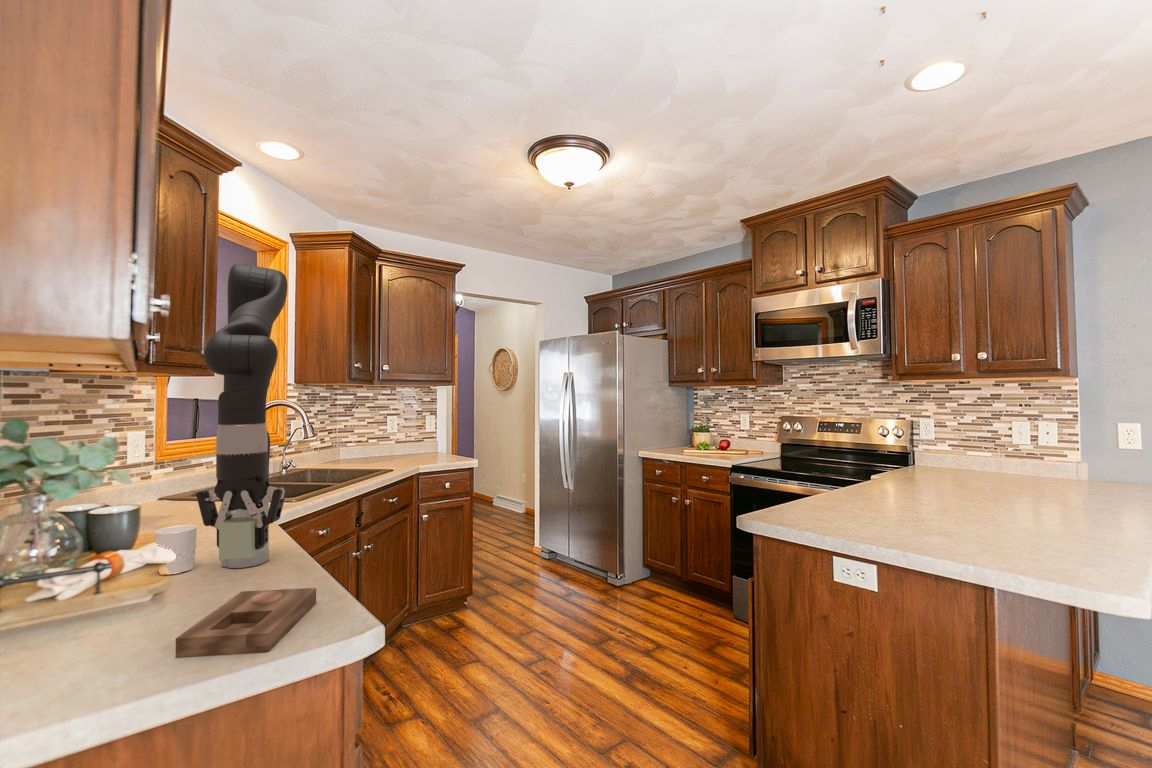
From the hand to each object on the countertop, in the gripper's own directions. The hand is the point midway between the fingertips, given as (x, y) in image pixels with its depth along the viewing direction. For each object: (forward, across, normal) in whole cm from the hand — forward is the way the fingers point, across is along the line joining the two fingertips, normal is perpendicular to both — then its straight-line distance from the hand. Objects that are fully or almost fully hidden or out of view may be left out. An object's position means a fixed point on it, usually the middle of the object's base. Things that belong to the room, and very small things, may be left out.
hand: (242, 548), depth 91 cm
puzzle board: (+15, 0, -4) cm, 16 cm away
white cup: (+15, +34, -39) cm, 54 cm away
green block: (+1, 0, 0) cm, 1 cm away
